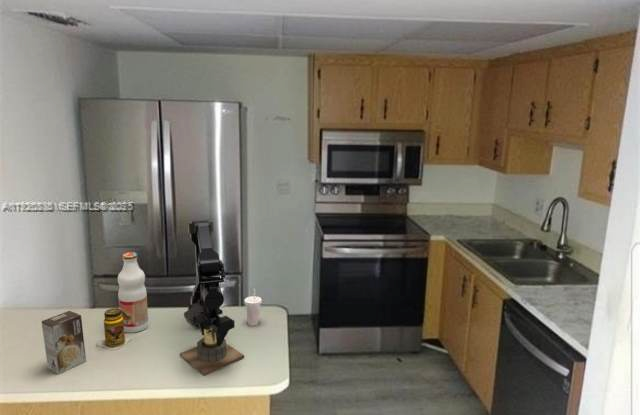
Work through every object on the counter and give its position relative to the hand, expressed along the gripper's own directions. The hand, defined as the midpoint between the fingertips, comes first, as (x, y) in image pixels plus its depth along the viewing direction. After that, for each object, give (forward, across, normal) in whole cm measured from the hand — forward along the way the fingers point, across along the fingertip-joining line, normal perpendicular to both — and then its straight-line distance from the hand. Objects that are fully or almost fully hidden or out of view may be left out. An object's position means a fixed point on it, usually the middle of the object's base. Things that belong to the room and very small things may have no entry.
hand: (211, 340), depth 154 cm
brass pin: (+5, 0, 0) cm, 5 cm away
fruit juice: (+6, -36, -10) cm, 38 cm away
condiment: (+6, -30, -20) cm, 37 cm away
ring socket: (+6, 0, 0) cm, 6 cm away
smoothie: (+6, -10, +24) cm, 27 cm away
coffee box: (+6, -26, -36) cm, 45 cm away
